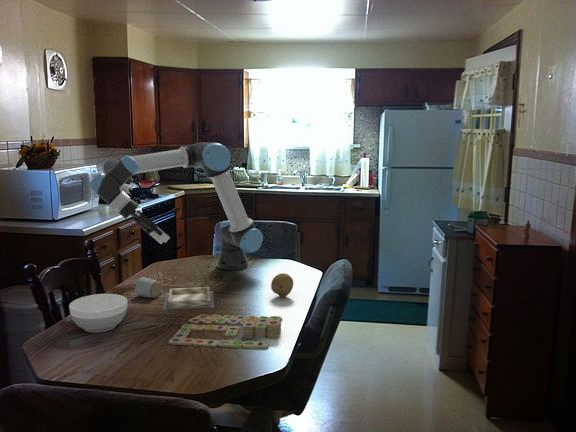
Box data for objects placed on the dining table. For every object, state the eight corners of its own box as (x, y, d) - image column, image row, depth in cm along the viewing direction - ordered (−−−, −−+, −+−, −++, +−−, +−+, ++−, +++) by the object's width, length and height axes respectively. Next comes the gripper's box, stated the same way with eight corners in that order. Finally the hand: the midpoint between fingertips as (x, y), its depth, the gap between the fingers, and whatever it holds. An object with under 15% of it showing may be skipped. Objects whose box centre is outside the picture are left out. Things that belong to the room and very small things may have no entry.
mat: (213, 291, 219) (213, 291, 219) (214, 308, 200) (214, 307, 200) (166, 293, 216) (166, 292, 216) (163, 310, 197) (163, 309, 197)
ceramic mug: (151, 300, 207) (151, 282, 206) (134, 298, 210) (134, 279, 209) (167, 293, 217) (167, 275, 216) (151, 291, 220) (150, 273, 219)
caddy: (209, 292, 217) (209, 287, 217) (210, 305, 202) (210, 299, 201) (170, 294, 214) (169, 288, 214) (167, 307, 199) (167, 301, 198)
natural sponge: (280, 302, 207) (280, 278, 205) (266, 296, 214) (266, 273, 212) (297, 297, 213) (297, 274, 211) (283, 292, 219) (283, 269, 218)
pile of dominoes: (284, 319, 190) (284, 305, 189) (275, 351, 163) (275, 334, 163) (191, 315, 193) (190, 301, 192) (167, 345, 167) (166, 329, 166)
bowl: (110, 339, 170) (109, 314, 168) (58, 334, 174) (56, 309, 172) (138, 319, 188) (137, 295, 187) (90, 314, 192) (89, 291, 190)
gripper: (116, 215, 217) (155, 249, 221) (119, 209, 194) (163, 247, 198) (129, 202, 219) (167, 236, 224) (133, 194, 196) (176, 232, 200)
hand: (165, 241), depth 211 cm, fingers open, 13 cm apart
